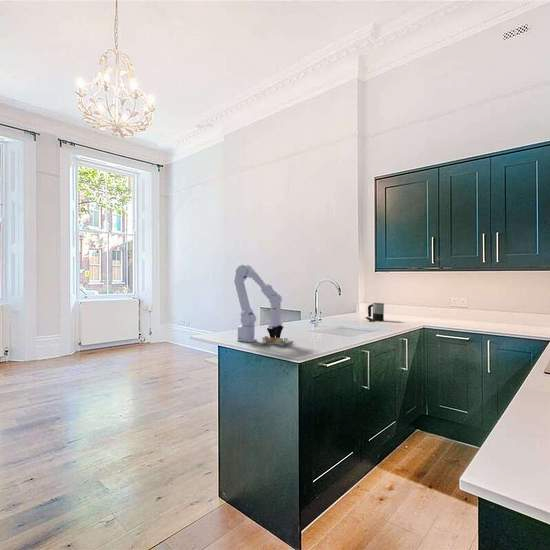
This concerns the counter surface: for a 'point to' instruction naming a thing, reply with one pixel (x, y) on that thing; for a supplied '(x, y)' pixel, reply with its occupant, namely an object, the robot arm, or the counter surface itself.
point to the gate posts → (266, 341)
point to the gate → (274, 340)
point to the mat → (277, 344)
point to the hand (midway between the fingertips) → (275, 339)
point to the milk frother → (376, 312)
